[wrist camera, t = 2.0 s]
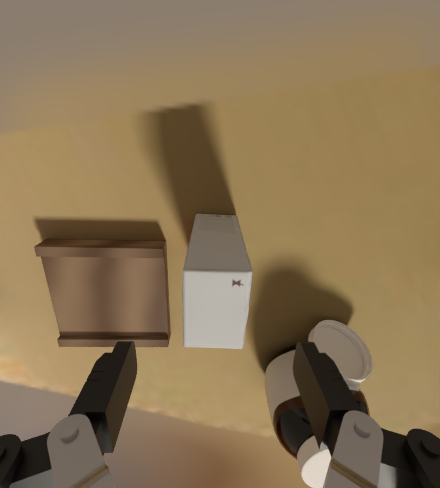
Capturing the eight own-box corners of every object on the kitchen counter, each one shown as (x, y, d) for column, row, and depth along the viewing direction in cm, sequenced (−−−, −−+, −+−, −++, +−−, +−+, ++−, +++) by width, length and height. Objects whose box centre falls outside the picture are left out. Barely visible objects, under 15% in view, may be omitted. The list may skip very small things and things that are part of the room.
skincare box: (194, 212, 26) (181, 267, 15) (237, 214, 26) (255, 269, 15) (193, 267, 28) (181, 349, 17) (232, 268, 29) (246, 351, 18)
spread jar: (263, 391, 36) (285, 500, 25) (254, 324, 32) (276, 421, 21) (352, 379, 35) (414, 485, 25) (355, 309, 31) (431, 400, 20)
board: (166, 240, 27) (162, 248, 25) (170, 334, 32) (167, 347, 30) (47, 238, 27) (34, 246, 25) (68, 333, 31) (59, 346, 29)
